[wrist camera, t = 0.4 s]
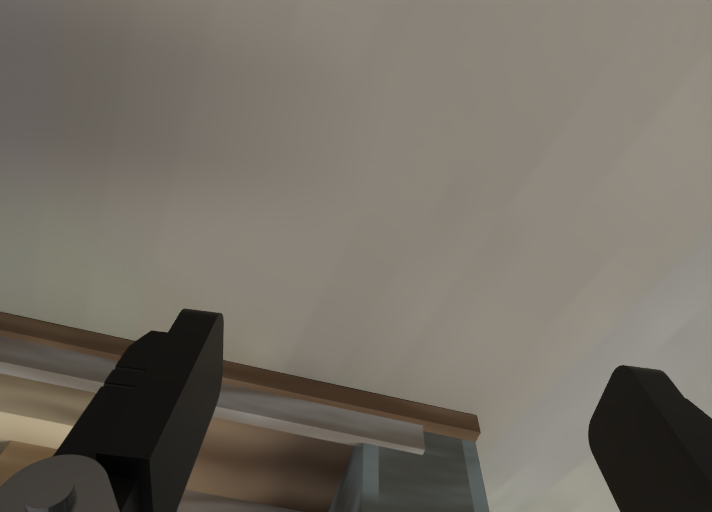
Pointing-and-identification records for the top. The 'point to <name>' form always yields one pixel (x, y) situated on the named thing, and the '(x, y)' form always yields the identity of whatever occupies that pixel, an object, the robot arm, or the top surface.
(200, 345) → the robot arm
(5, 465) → the carriage
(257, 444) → the rail track
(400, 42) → the top surface
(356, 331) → the top surface
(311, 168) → the top surface
